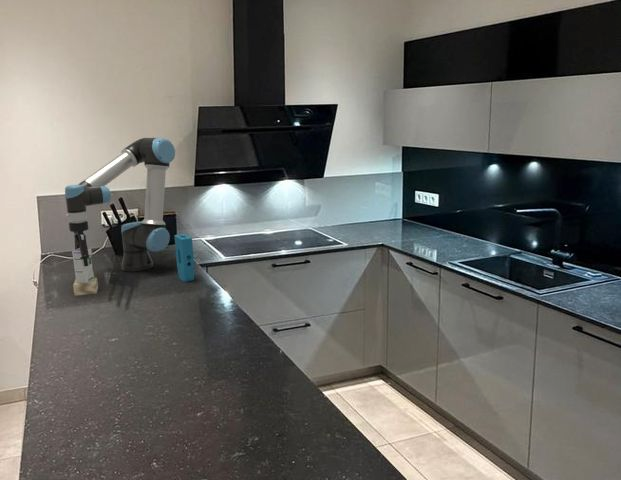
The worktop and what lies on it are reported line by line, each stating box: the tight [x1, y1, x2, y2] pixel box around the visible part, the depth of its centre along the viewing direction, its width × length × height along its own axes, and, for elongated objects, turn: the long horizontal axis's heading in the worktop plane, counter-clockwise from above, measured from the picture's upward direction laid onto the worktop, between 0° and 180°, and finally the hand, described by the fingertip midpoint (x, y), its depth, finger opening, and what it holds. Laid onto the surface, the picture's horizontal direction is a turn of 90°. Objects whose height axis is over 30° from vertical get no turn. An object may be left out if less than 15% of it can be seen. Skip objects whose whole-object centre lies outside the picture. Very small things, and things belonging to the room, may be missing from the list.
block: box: [174, 233, 195, 283], centre depth 266 cm, size 12×5×20 cm, turn 30°
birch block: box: [72, 277, 99, 297], centre depth 253 cm, size 9×9×5 cm
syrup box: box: [71, 247, 96, 283], centre depth 251 cm, size 6×6×14 cm
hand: (83, 269), depth 251 cm, fingers open, 12 cm apart
